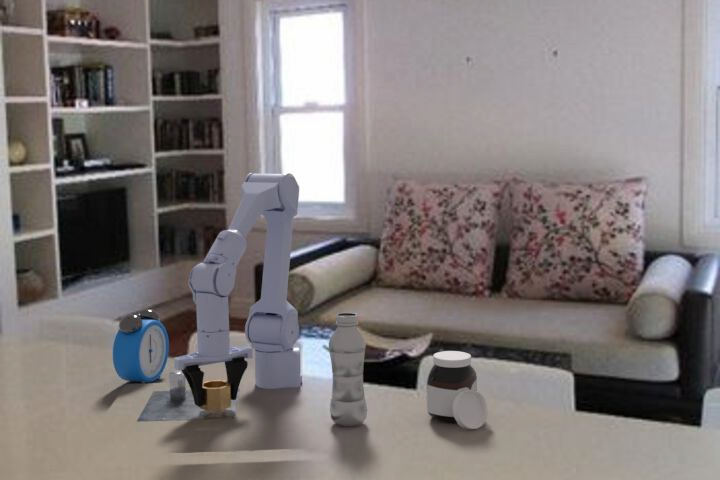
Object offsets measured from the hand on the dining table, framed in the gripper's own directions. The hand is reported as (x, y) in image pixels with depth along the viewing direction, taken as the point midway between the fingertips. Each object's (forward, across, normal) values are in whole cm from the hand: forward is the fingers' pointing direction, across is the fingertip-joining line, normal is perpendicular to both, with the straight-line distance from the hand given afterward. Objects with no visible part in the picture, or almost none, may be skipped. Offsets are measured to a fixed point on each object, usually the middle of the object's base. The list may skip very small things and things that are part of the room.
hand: (215, 401), depth 158 cm
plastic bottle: (+4, -18, +16) cm, 25 cm away
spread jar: (+4, -36, +26) cm, 44 cm away
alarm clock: (+4, +2, -32) cm, 33 cm away
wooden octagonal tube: (+1, 0, 0) cm, 1 cm away
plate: (+3, +2, -7) cm, 8 cm away
